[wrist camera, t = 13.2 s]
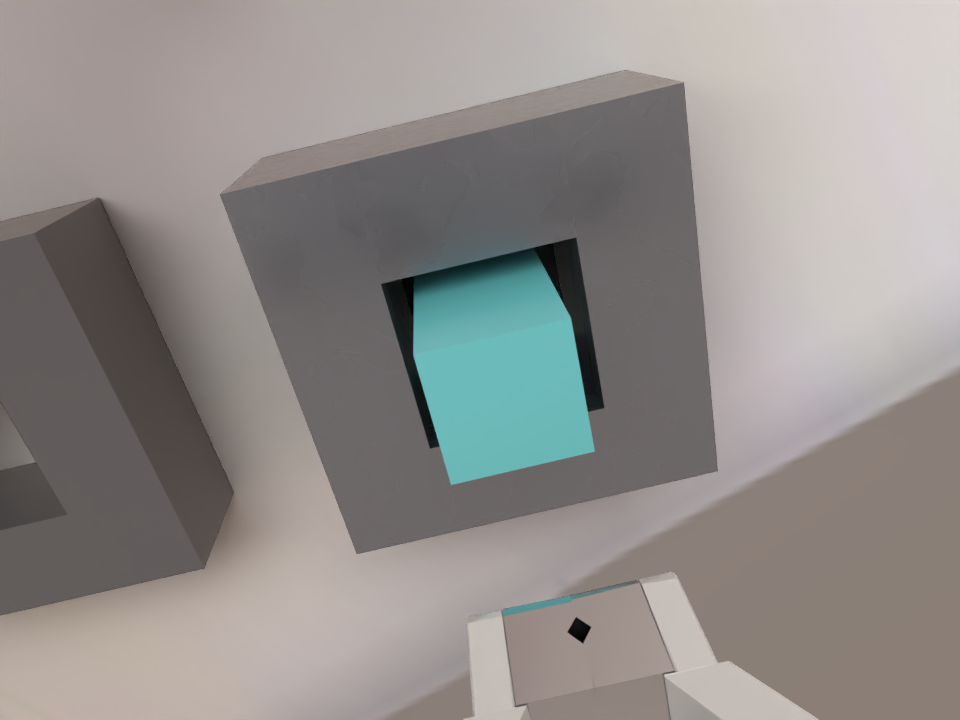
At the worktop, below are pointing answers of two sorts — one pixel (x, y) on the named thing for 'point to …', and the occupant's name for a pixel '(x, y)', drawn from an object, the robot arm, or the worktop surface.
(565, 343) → the plug
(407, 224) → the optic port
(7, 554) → the holster
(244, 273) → the worktop surface
